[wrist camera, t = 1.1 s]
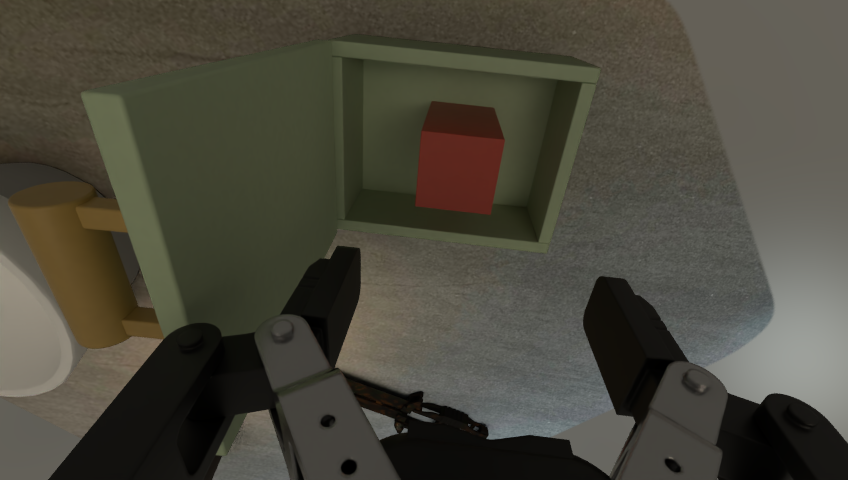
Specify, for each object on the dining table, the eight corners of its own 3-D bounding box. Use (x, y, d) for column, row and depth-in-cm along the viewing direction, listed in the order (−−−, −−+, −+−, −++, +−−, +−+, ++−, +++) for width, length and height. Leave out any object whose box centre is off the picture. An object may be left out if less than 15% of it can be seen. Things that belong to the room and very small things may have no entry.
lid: (119, 95, 7) (-162, 66, 7) (226, 457, 13) (71, 442, 13) (331, 40, 20) (233, 30, 20) (337, 232, 26) (260, 225, 26)
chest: (572, 56, 26) (601, 67, 20) (532, 212, 32) (547, 254, 26) (354, 33, 26) (326, 39, 21) (355, 192, 32) (333, 229, 27)
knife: (274, 368, 44) (269, 378, 43) (293, 333, 41) (288, 342, 40) (464, 450, 49) (464, 461, 47) (494, 424, 46) (495, 435, 44)
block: (431, 100, 27) (421, 130, 20) (494, 107, 27) (505, 139, 20) (425, 161, 29) (414, 206, 23) (484, 167, 29) (490, 215, 22)
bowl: (-4, 80, 30) (-213, 110, 21) (205, 249, 36) (117, 329, 27) (-72, 219, 37) (-248, 287, 28) (112, 339, 44) (19, 426, 34)
